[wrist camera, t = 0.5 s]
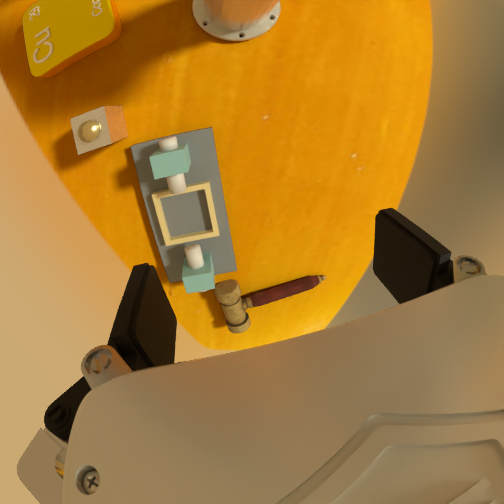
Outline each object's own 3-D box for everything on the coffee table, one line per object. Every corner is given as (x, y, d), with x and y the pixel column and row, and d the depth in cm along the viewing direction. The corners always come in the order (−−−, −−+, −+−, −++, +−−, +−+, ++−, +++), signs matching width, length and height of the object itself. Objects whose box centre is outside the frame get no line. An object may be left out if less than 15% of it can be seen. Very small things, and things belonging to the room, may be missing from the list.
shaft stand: (133, 144, 37) (118, 153, 31) (211, 127, 38) (212, 131, 31) (170, 277, 49) (166, 304, 43) (236, 265, 50) (241, 291, 43)
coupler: (92, 115, 33) (67, 119, 26) (122, 105, 34) (101, 106, 26) (99, 145, 36) (75, 156, 28) (128, 136, 36) (109, 144, 29)
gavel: (329, 261, 49) (331, 302, 54) (318, 249, 53) (322, 289, 58) (214, 298, 47) (230, 336, 52) (212, 283, 51) (226, 321, 56)
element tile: (125, 37, 29) (116, 30, 24) (45, 82, 29) (30, 82, 25) (109, -28, 21) (100, -39, 17) (33, 17, 21) (19, 12, 17)
